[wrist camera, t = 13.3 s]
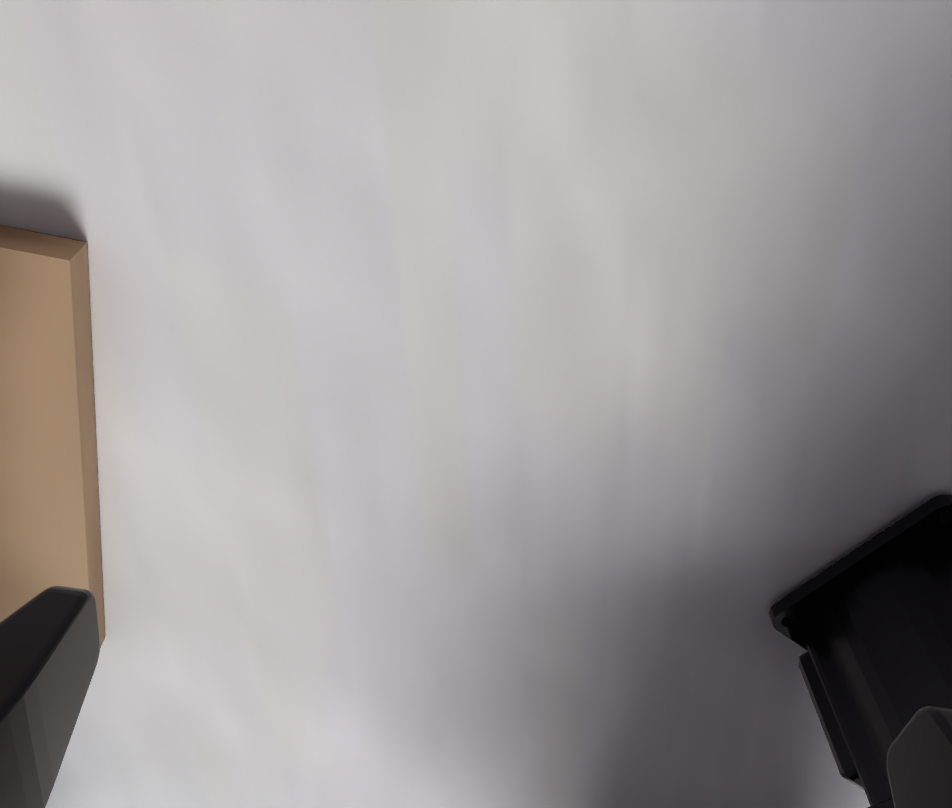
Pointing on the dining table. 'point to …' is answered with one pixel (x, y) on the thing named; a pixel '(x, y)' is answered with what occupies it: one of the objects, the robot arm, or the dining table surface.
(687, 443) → the dining table surface
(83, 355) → the brown tray
